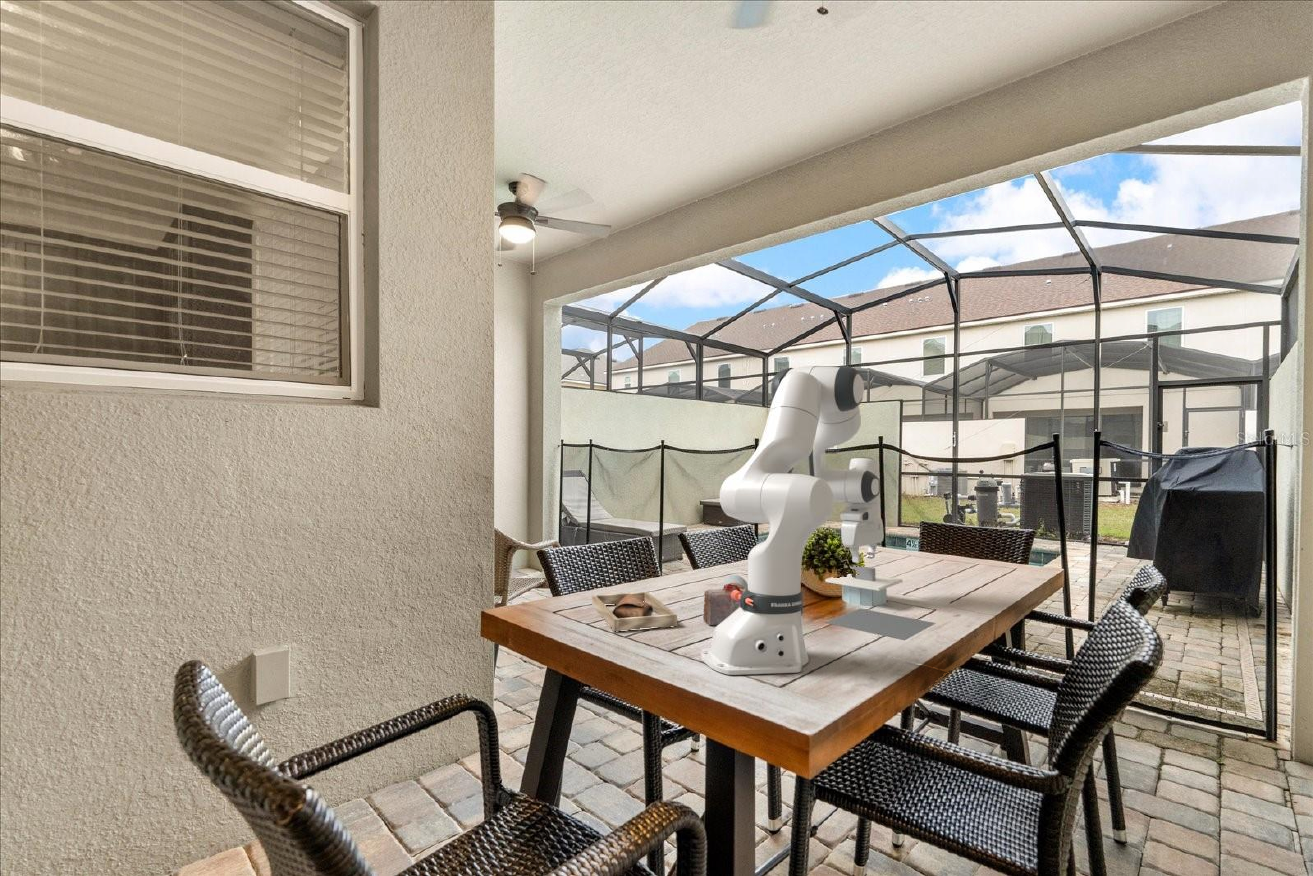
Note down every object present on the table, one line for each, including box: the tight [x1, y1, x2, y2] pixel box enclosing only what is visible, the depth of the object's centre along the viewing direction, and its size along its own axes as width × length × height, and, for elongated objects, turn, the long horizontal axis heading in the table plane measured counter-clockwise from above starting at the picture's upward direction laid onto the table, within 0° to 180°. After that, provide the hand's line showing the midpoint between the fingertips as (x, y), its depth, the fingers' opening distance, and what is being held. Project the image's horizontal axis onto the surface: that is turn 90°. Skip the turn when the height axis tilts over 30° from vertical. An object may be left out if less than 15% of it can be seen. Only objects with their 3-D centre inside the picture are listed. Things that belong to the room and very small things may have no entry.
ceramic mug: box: [721, 574, 748, 589], centre depth 171 cm, size 11×8×8 cm
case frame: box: [591, 591, 678, 631], centre depth 158 cm, size 16×26×3 cm, turn 18°
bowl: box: [841, 585, 888, 607], centre depth 175 cm, size 12×12×6 cm
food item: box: [703, 584, 746, 626], centre depth 153 cm, size 14×8×10 cm, turn 98°
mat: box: [824, 608, 936, 641], centre depth 151 cm, size 20×20×1 cm
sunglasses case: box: [611, 592, 651, 618], centre depth 158 cm, size 18×7×7 cm
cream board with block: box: [825, 565, 903, 591], centre depth 175 cm, size 16×16×4 cm
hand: (863, 560), depth 175 cm, fingers open, 8 cm apart
